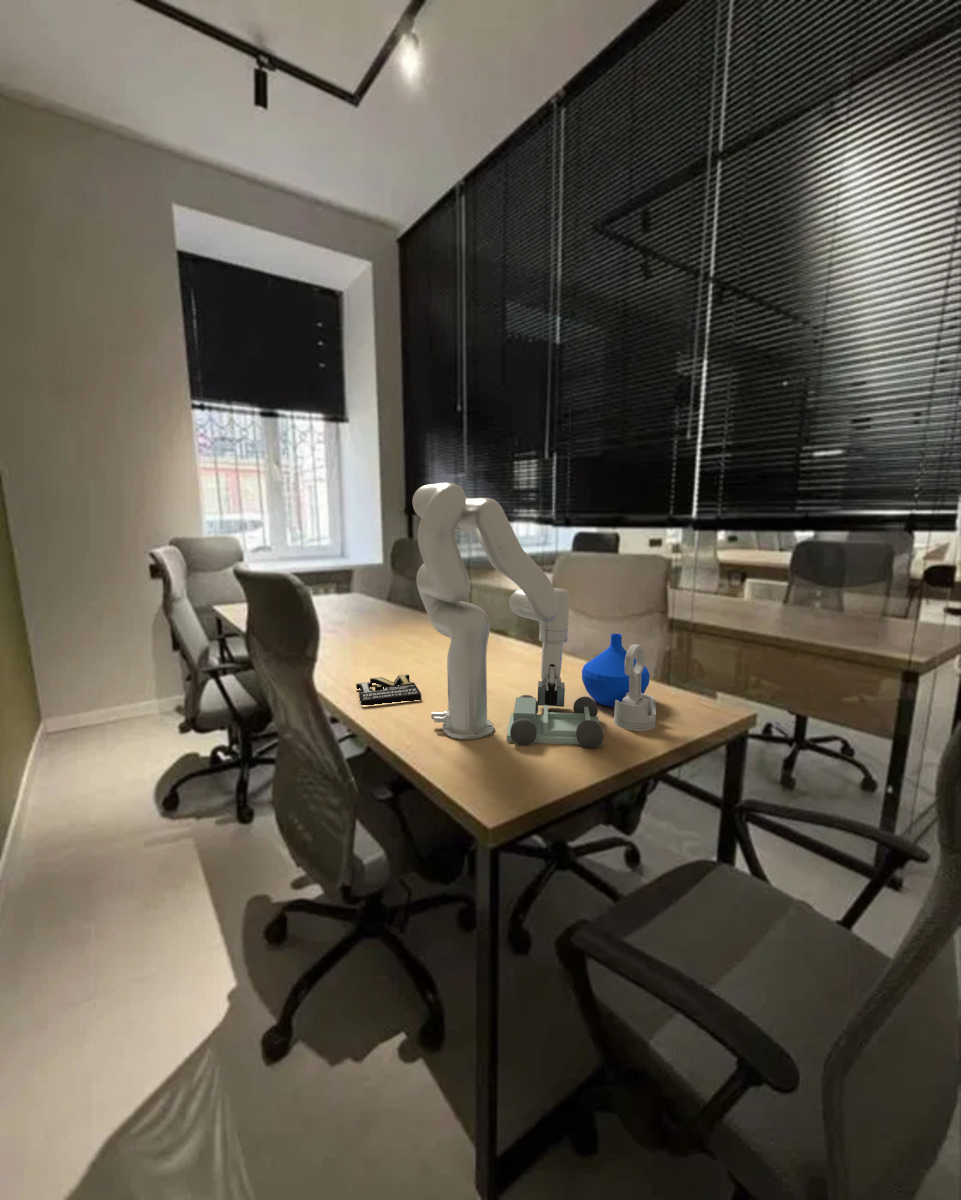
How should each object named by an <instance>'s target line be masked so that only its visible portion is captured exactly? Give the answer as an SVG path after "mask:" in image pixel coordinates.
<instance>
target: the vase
mask: <svg viewBox="0 0 961 1200" xmlns="http://www.w3.org/2000/svg"><path fill="white" fill-rule="evenodd" d="M622 636H623V635H622V634H621V633H612V634H610V644H609V646H608V648H607V649H605V650H603V651H602V652H601V653H599V654H598V655H596V656H595V657H594V658H592V659H591V660H589V661H588V662H586V663H584V665H583V667H582V670H581V681H582V683H583V686H584V688H585V690H586V692H587V693H588V695H589V697H590V698H592V699H593V700H594V701H595V702H596V703H598V704H600V705H602V706H605V707H610V708H615V700H618V701H619V702H622V700H623V698H624V697H626V694H627V693H628V692H629V676H628V675H626V674H625V657H626V653H627V651H628V650H625V648H624V646H623V643H622V642H623V641H622V640H623V637H622ZM635 664H636V658H634V667H635ZM649 683H650V672H649V669H648V667H647V666H646V665H644V668H643V671H642V673H641V693H643V694H646V691H647V688H648V686H649Z"/></svg>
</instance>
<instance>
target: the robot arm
mask: <svg viewBox="0 0 961 1200" xmlns="http://www.w3.org/2000/svg"><path fill="white" fill-rule="evenodd" d="M412 507H413V510H414V512H415V514H416V515H417V516H418V517H419V518H421V519H420V522H419V526H418V530H417V544H418V548H419V549H418V550H419V552H420V555H421V558H422V561H423V563H422V565H420V567H419V568H418V571H417V573H416V579H415V581H416V587H417V591H418V593H419V596H420V598H421V601H422V604H423V606H424V609H425V611H426V614H427V616H428V618H429V621H430V622H431V624H432V626H433V628H434V629H435V631H437V632H438V634H441V635H442V636H445V637H448V638H449V639H450V643H449V648H448V652H447V657H446V659H447V661H446V662H447V663H446V664H447V665H446V667H447V668H446V670H447V704H448V705H447V706H448V707H447V709H448V710H444V711H441V712H440V711H432V712H431V717H430V718H431V720H433V721H434V723H443V724H442V726H441V727H442V732H443V734H444V735H445V736H447V735H448V737H449V736H450V737H449V738H453V739H456V738H457V740H476V739H481V738H485V737H487V736H489V735H490V734H492V733H493V731H494V729H495V728H494V723H493V722H492V721H491V720H490V719H488V690H487V689H488V686H487V685H488V683H487V682H488V681H487V679H488V677H487V672H488V671H487V670H488V669H487V668H488V667H487V651H488V644H489V643H488V642H489V637H490V631H491V623H490V619H489V616H488V615H487V613H486V612H485V610H484V609H483V608H482V607H481V606H478V605H476V604H475V603H471V602H467V601H463V600H465V599H466V598H467V597H468V595H469V594H470V591H471V580H470V577H469V574H468V572H467V571H468V570H467V569H466V567H465V566H466V565H465V563H464V561H463V557H462V556H461V553H460V550H459V546H458V544H457V540H456V530H457V531H459V532H464V533H472V534H473V533H474V534H475V536H476V539H477V540H478V542H479V543H480V546H481V547H482V549H483V551H484V553H485V555H486V557H487V559H488V560H489V562H490V564H491V566H492V567H493V569H495V570H496V571H497V572H499V573H500V574H502V575H503V576H504V577H506V578H508V579H510V580H511V581H512V582H513V583H514V584H516V586H518V587H519V589H517V590H515V591H514V592H513V593H512V594H511V595H510V598H509V607H510V609H511V611H512V612H513V613H514V614H516V615H517V616H519V617H521V618H526V619H529V620H534V621H537V622H539V625H538V629H539V630H538V641H539V642H541V643H542V647H541V669H540V671H541V673H540V675H541V676H540V679H541V680H542V679H543V680H544V678H545V679H546V677H547V679H546V680H547V682H546V690H545V705H554V706H553V707H557V706H556V705H557V692H558V690H557V680H559V679H560V678H561V670H562V662H563V645H564V644H565V643H568V638H569V637H568V635H569V617H570V616H569V613H570V612H569V611H570V592H569V591H568V590H567V589H565V588H559V587H553V585H552V583H551V581H550V578H548V575H546V573H545V572H544V570H543V569H542V568H541V567H540V566H539V565H538V564H537V562H535V561H534V560H533V558H532V557H531V556H530V555H529V554H528V553H527V552H526V551H525V550H524V549H523V548H522V547H523V546H521V543H520V542H519V539H518V537H517V535H516V534H515V533H516V532H515V531H514V530H513V527H512V524H511V523H510V521H509V519H508V517H507V515H506V513H505V510H504V509H503V507H502V506H501V504H500V503H499V502H498V501H497V500H495V499H493V498H490V497H467V496H466V493H465V491H464V489H463V488H462V486H460V485H458V484H456V483H454V482H438V483H430V484H425V485H422V486H420V487H419V488H418V489H417V490H415V492H414V494H413V496H412ZM548 677H550V679H548ZM554 678H556V679H554ZM548 681H550V683H548ZM554 681H555V683H554Z"/></svg>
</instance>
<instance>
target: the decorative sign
mask: <svg viewBox="0 0 961 1200" xmlns="http://www.w3.org/2000/svg"><path fill="white" fill-rule="evenodd" d="M372 683H376V684H378V685H376V686H374V690H371V689H370V687H372V688H373V686H372ZM398 685H399V686H398ZM355 687H356V688H357V689H359V688H360V689H361V691H360V692H359V693H358V698H360V700H359V702H360V701H361V703H360V706H361V705H374V704H382V703H392V702H401V701H414V700H421V701H422V692H421V691H420V690H419V688H418V687H417V685H416V683H415V682H411V681H410V674H400V675H398V676H397V677H396V679H395V680H394V681H391V680H389V679H386V678H384V677H381V676H379V677H372V678H371V677H370V678H369V681H368V682H361V683H359V682H358V683H356V685H355ZM383 687H384V689H383ZM356 688H355V689H356Z"/></svg>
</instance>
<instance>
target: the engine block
mask: <svg viewBox="0 0 961 1200" xmlns="http://www.w3.org/2000/svg"><path fill="white" fill-rule="evenodd" d="M546 679H547V677H546ZM546 679H545V678H544V680H543V679H542V678H541V680H538V682H537V702H538V706H543V707H544V705H545V690H546V682H547V680H546ZM548 679H550V677H549V676H548ZM554 679H556V678H555V677H554ZM548 683H550V681H548ZM554 683H555V681H554ZM565 684H566V683H565V682H564V681H562V678H561V677H560V679H559V680H557V690H558V692H557V705H556V706H554V705H548V707H558V708H559V707H561V708H564V707H565V698H566V697H565V693H566V688H565V687H566V686H565Z"/></svg>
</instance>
